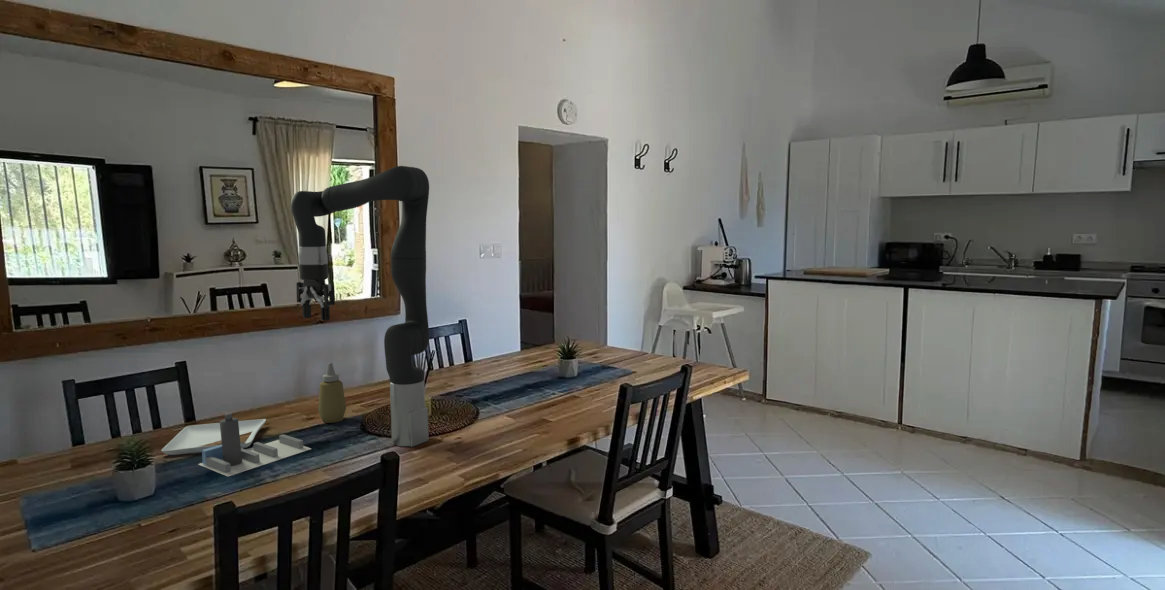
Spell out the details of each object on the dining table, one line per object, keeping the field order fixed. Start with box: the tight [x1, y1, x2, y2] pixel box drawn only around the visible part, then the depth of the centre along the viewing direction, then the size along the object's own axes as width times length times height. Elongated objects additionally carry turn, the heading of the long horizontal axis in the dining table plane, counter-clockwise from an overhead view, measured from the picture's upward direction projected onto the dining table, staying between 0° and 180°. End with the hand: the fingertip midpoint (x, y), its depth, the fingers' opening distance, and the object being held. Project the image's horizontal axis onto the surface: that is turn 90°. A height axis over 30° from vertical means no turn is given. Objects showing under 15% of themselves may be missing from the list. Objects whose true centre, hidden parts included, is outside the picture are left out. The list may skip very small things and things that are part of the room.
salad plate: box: [161, 418, 267, 456], centre depth 176 cm, size 21×21×3 cm
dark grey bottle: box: [219, 412, 242, 466], centre depth 158 cm, size 4×4×13 cm
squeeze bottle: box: [317, 362, 347, 424], centre depth 195 cm, size 8×8×18 cm
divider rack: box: [197, 433, 312, 477], centre depth 163 cm, size 14×22×4 cm, turn 147°
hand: (316, 319), depth 182 cm, fingers open, 8 cm apart
